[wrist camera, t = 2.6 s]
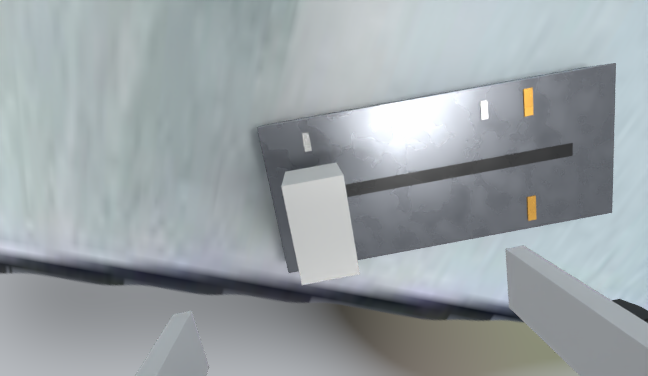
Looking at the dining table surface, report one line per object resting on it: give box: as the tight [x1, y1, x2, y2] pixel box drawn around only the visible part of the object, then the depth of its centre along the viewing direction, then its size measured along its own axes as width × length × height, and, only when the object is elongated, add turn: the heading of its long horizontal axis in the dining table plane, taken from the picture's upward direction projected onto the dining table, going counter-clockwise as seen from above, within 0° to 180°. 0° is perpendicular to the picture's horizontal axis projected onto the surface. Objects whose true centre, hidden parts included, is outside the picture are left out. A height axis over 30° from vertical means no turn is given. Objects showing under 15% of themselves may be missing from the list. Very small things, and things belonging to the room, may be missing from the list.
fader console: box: [257, 63, 616, 273], centre depth 34 cm, size 14×32×3 cm, turn 100°
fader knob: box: [281, 163, 360, 285], centre depth 27 cm, size 7×4×9 cm, turn 10°
